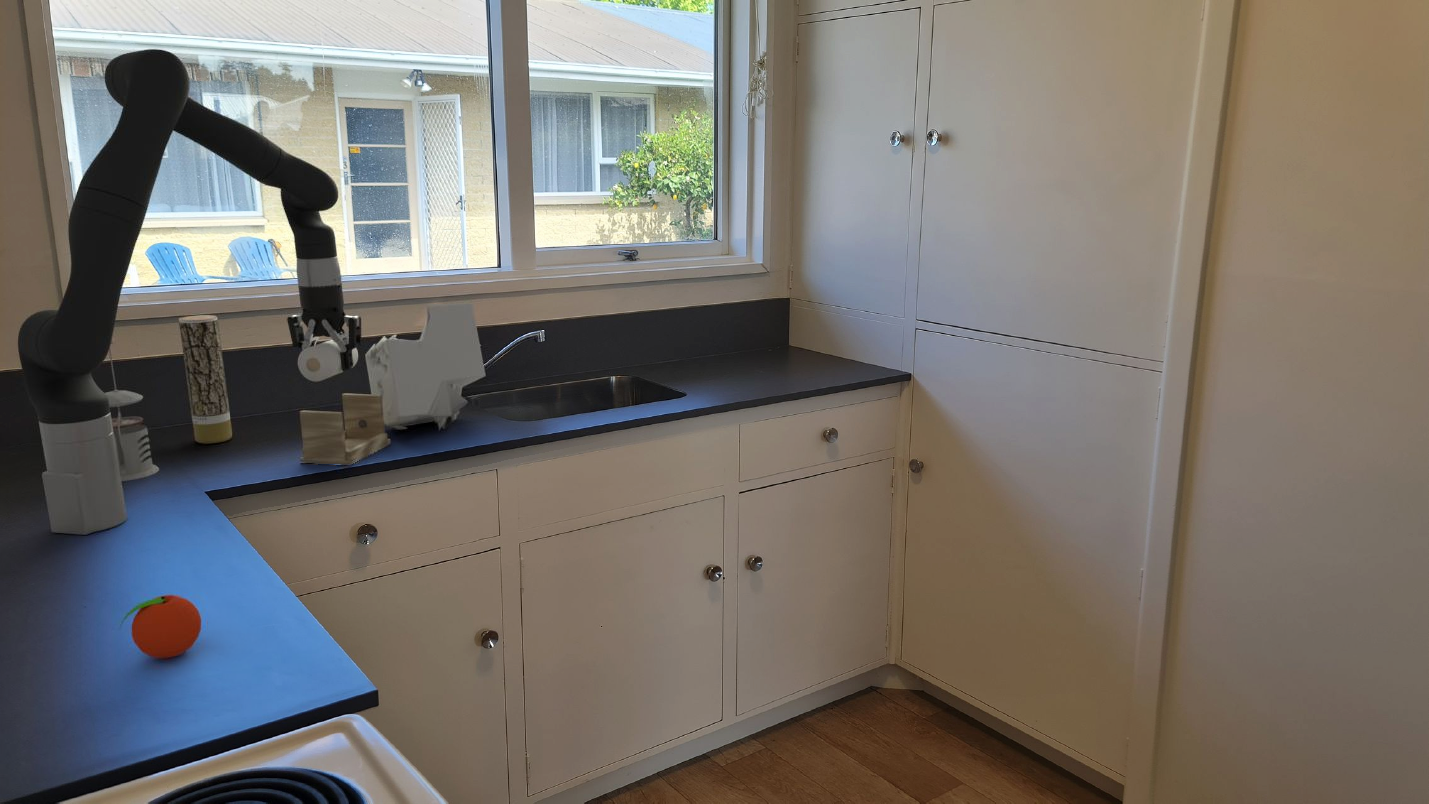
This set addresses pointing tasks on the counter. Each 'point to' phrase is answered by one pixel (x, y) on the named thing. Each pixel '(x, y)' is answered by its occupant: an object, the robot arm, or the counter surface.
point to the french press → (130, 436)
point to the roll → (322, 361)
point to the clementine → (165, 626)
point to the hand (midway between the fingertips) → (330, 370)
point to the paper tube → (205, 378)
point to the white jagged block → (427, 368)
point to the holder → (337, 445)
